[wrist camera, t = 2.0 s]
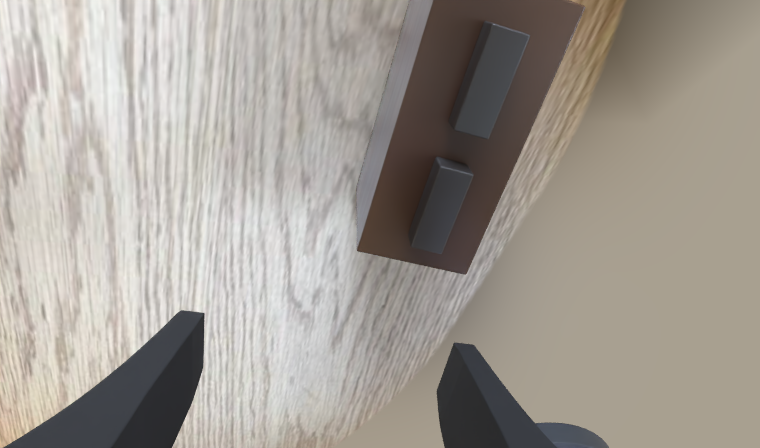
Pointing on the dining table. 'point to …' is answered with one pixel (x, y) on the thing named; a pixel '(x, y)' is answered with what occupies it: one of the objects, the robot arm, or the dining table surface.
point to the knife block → (455, 123)
